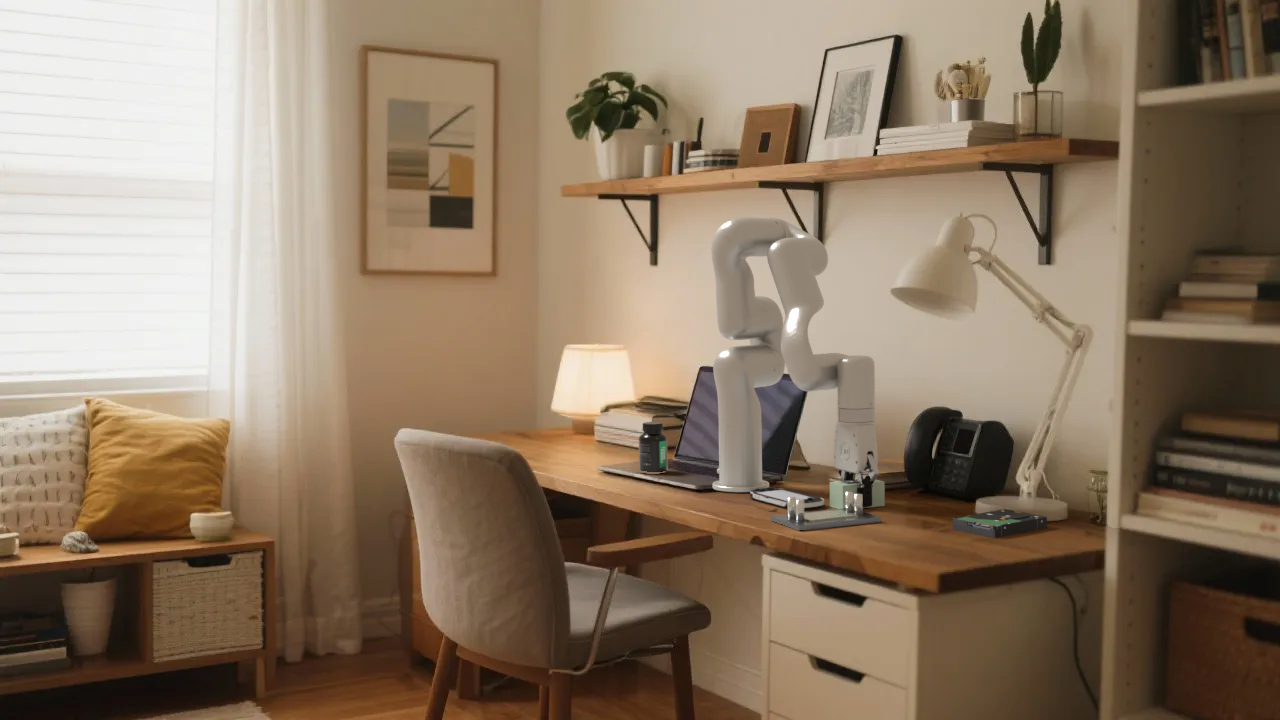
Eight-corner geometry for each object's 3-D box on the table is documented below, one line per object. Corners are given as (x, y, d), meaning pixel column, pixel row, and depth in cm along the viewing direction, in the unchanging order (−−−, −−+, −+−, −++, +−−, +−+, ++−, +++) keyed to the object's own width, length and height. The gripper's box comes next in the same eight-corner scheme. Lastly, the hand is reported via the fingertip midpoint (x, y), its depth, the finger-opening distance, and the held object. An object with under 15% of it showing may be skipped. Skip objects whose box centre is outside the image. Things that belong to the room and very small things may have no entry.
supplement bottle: (670, 473, 319) (669, 424, 318) (642, 475, 318) (641, 425, 317) (664, 469, 326) (663, 420, 325) (636, 471, 325) (635, 422, 324)
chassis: (770, 520, 260) (770, 495, 260) (849, 512, 267) (849, 487, 267) (799, 531, 250) (798, 504, 250) (880, 522, 257) (880, 496, 257)
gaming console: (831, 510, 273) (831, 498, 273) (795, 514, 269) (795, 502, 269) (777, 495, 290) (777, 484, 290) (743, 499, 286) (743, 487, 286)
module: (829, 506, 275) (829, 480, 274) (871, 502, 279) (870, 476, 278) (842, 510, 270) (842, 484, 270) (884, 505, 274) (884, 480, 274)
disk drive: (1004, 523, 258) (951, 531, 250) (1004, 508, 258) (951, 516, 249) (1048, 531, 250) (995, 540, 241) (1048, 516, 249) (995, 525, 241)
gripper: (818, 413, 279) (819, 499, 281) (863, 421, 264) (864, 512, 265) (849, 411, 282) (850, 496, 284) (895, 419, 267) (896, 509, 268)
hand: (857, 503), depth 274 cm, fingers closed on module, 5 cm apart
